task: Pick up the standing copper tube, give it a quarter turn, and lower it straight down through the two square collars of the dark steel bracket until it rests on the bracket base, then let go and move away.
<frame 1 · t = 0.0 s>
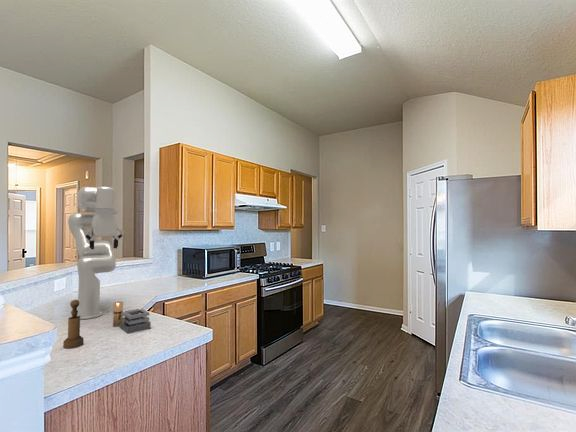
hand: (104, 248, 147), 37 cm above the worktop, tool pointing down, fingers open, 9 cm apart
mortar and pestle: (73, 346, 123), on the worktop
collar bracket: (134, 328, 144), on the worktop
copper tube: (117, 325, 148), on the worktop
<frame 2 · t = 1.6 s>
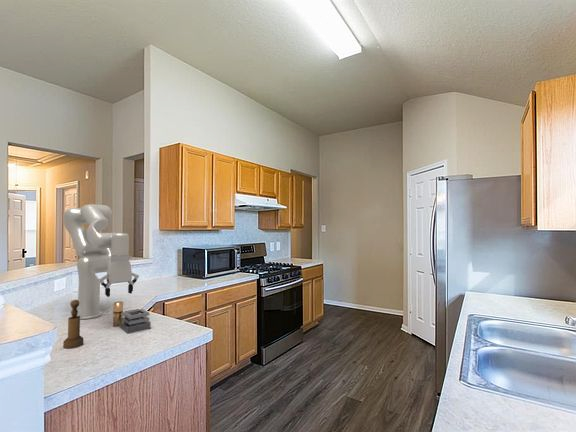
hand: (119, 294, 148), 15 cm above the worktop, tool pointing down, fingers open, 9 cm apart
nothing on the worktop moved.
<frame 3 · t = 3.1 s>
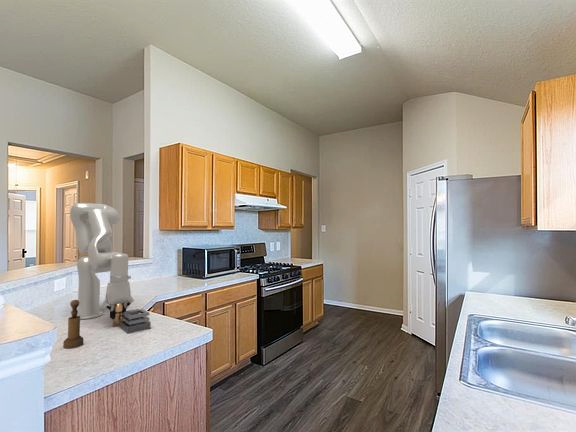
hand: (117, 317, 148), 4 cm above the worktop, tool pointing down, fingers closed on copper tube, 4 cm apart
copper tube: (117, 325, 148), on the worktop, touching gripper
everything else where it was.
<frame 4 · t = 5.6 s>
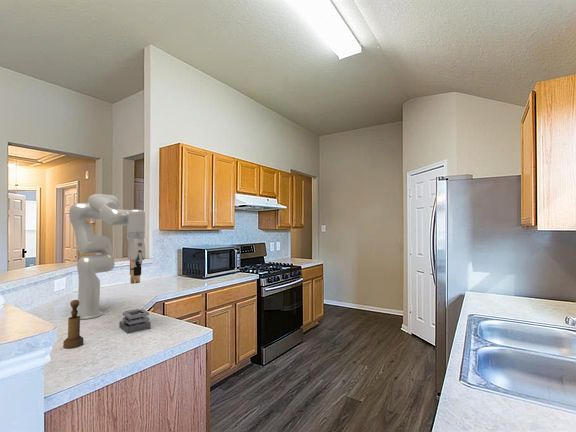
hand: (135, 274, 145), 25 cm above the worktop, tool pointing down, fingers closed on copper tube, 4 cm apart
copper tube: (135, 282, 145), point 21 cm above the worktop, touching gripper
everything else where it was.
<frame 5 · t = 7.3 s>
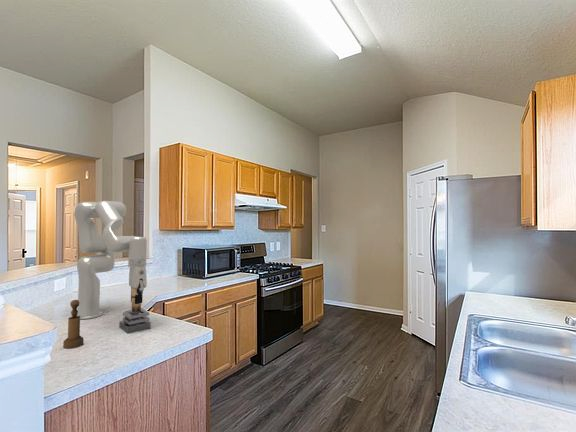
hand: (136, 302, 144), 12 cm above the worktop, tool pointing down, fingers closed on copper tube, 4 cm apart
copper tube: (136, 310, 144), point 8 cm above the worktop, touching gripper
everything else where it was.
when the fingers open (9 cm above the worktop, at t = 8.3 s): copper tube drops 2 cm, resting on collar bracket.
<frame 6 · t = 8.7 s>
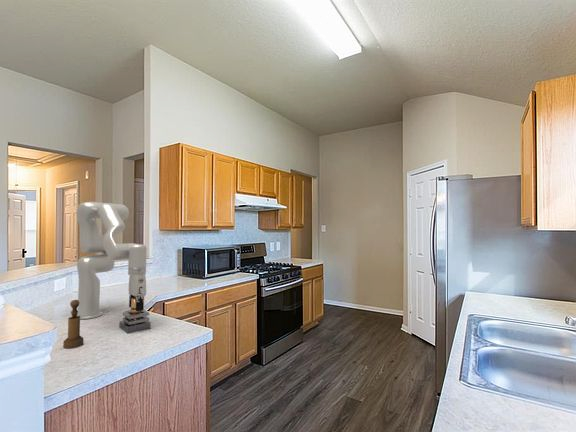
hand: (136, 308, 144), 9 cm above the worktop, tool pointing down, fingers open, 8 cm apart
copper tube: (135, 322, 144), point 3 cm above the worktop, touching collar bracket
everything else where it was.
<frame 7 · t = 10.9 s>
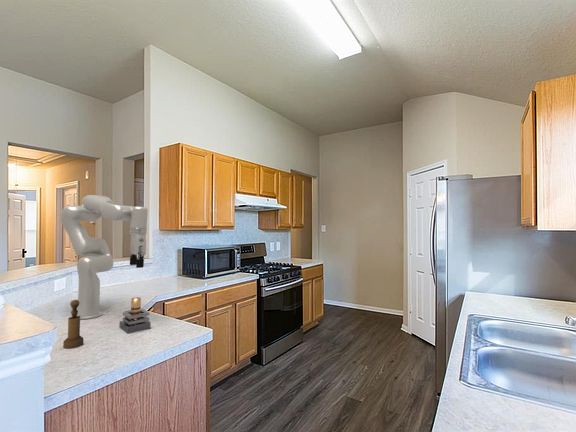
hand: (136, 266, 153), 28 cm above the worktop, tool pointing down, fingers open, 9 cm apart
nothing on the worktop moved.
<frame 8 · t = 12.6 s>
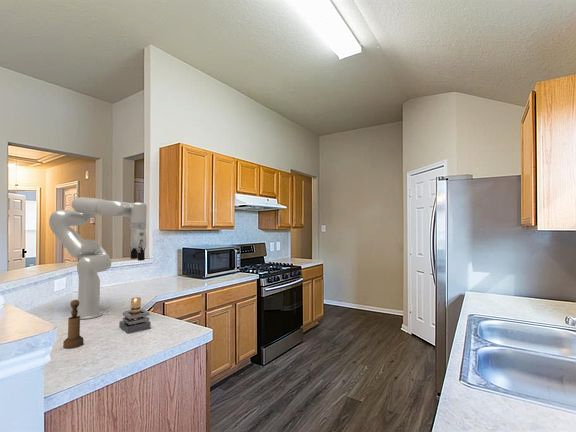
hand: (137, 259, 159), 30 cm above the worktop, tool pointing down, fingers open, 9 cm apart
nothing on the worktop moved.
at the end: copper tube 0.1 cm from the target spot on the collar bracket, point 3.0 cm above the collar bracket's base; copper tube tilted 0°; the gripper is holding nothing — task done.
